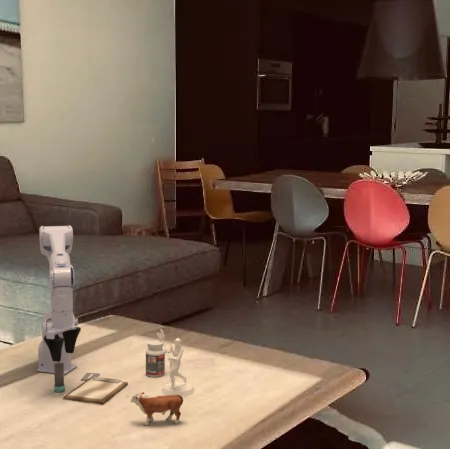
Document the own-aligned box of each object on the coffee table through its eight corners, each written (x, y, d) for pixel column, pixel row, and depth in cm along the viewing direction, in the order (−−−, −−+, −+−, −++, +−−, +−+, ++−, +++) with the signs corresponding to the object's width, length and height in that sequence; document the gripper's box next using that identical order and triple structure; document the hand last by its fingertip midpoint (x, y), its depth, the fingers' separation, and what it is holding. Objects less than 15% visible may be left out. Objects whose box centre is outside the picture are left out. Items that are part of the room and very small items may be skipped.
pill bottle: (161, 378, 224) (161, 346, 223) (143, 376, 225) (143, 344, 224) (166, 371, 230) (167, 340, 228) (148, 370, 231) (149, 339, 229)
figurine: (154, 388, 216) (154, 327, 213) (182, 381, 221) (182, 322, 219) (172, 399, 208) (173, 335, 205) (201, 391, 214) (201, 330, 211)
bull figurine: (130, 419, 194) (130, 389, 193) (182, 418, 195) (183, 388, 194) (129, 426, 189) (129, 395, 188) (183, 425, 191) (183, 394, 189)
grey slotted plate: (80, 380, 221) (80, 379, 221) (87, 373, 227) (86, 372, 227) (94, 381, 221) (94, 380, 221) (99, 374, 226) (99, 373, 226)
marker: (52, 392, 211) (51, 365, 210) (57, 388, 214) (56, 361, 213) (61, 393, 210) (61, 366, 209) (66, 390, 213) (66, 362, 212)
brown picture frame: (63, 399, 206) (63, 394, 206) (90, 380, 222) (90, 375, 221) (103, 404, 203) (103, 399, 203) (127, 384, 218) (127, 380, 218)
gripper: (62, 317, 201) (63, 366, 203) (87, 304, 215) (87, 350, 217) (39, 315, 203) (40, 363, 205) (65, 302, 217) (65, 348, 219)
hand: (63, 356), depth 211 cm, fingers open, 7 cm apart
